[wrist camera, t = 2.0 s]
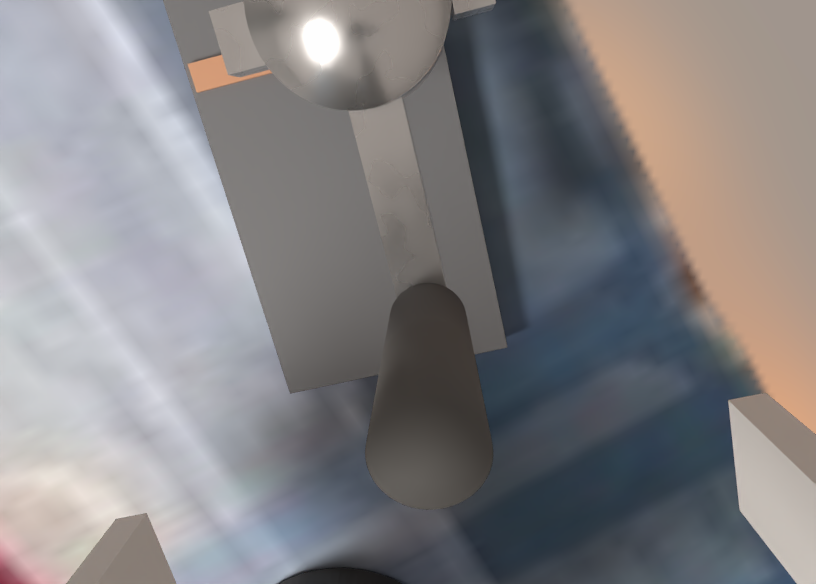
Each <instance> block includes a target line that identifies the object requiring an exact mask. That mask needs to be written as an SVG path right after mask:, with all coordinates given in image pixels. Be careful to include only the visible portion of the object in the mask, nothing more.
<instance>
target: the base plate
mask: <svg viewBox="0 0 816 584" xmlns="http://www.w3.org/2000/svg"><path fill="white" fill-rule="evenodd" d="M243 1H244V0H163V2H164V5H165V8H166V11H167V14H168V17H169V20H170V23H171V26H172V29H173V33H174V36H175V39H176V42H177V45H178V48H179V51H180V54H181V57H182V60H183V64H184V67H185V70H186V73H187V76H188V79H189V82H190V85H191V88H192V91H193V94H194V98H195V101H196V104H197V107H198V110H199V113H200V116H201V119H202V122H203V125H204V128H205V132H206V135H207V138H208V141H209V144H210V147H211V150H212V153H213V156H214V159H215V163H216V166H217V169H218V172H219V175H220V178H221V181H222V184H223V187H224V190H225V193H226V197H227V200H228V203H229V206H230V209H231V212H232V215H233V218H234V221H235V224H236V227H237V231H238V234H239V237H240V240H241V243H242V246H243V249H244V252H245V255H246V258H247V262H248V265H249V268H250V271H251V274H252V277H253V280H254V283H255V286H256V289H257V292H258V296H259V299H260V302H261V305H262V308H263V311H264V314H265V317H266V320H267V323H268V326H269V330H270V333H271V336H272V339H273V342H274V345H275V348H276V351H277V354H278V357H279V361H280V364H281V367H282V370H283V373H284V376H285V379H286V382H287V385H288V388H289V391H290V394H291V393H295V392H300V391H305V390H309V389H314V388H319V387H324V386H328V385H333V384H338V383H342V382H347V381H352V380H357V379H361V378H366V377H371V376H375V375H379V370H380V365H381V360H382V354H383V349H384V343H385V338H386V333H387V327H388V322H389V316H390V312H391V308H392V305H393V303H394V302H395V300H396V299H397V297H396V293H395V289H394V285H393V282H392V278H391V274H390V270H389V266H388V262H387V258H386V255H385V251H384V247H383V243H382V239H381V235H380V231H379V227H378V224H377V220H376V216H375V212H374V208H373V204H372V200H371V196H370V193H369V189H368V185H367V181H366V177H365V173H364V169H363V165H362V162H361V158H360V154H359V150H358V146H357V142H356V138H355V134H354V131H353V127H352V123H351V119H350V115H349V111H348V110H337V109H331V108H327V107H323V106H320V105H317V104H314V103H312V102H309V101H307V100H306V99H304V98H302V97H300V96H298V95H297V94H295V93H294V92H292V91H291V90H290V89H288V88H287V87H286V86H285V85H284V84H282V83H281V82H280V81H279V80H278V79H277V78H276V77H275V76H274V74H273V73H272V72H271V71H270V70H266V71H263V72H259V73H255V74H251V75H248V76H244V77H235V76H230V75H228V73H227V70H226V67H225V63H224V60H223V57H222V54H221V50H220V47H219V44H218V41H217V37H216V34H215V31H214V27H213V24H212V21H211V18H210V14H209V11H211V10H214V9H218V8H221V7H225V6H229V5H232V4H236V3H239V2H243ZM403 100H404V104H405V109H406V113H407V117H408V121H409V126H410V130H411V134H412V139H413V143H414V147H415V151H416V156H417V160H418V164H419V169H420V173H421V177H422V181H423V186H424V190H425V194H426V199H427V203H428V207H429V211H430V216H431V220H432V224H433V229H434V233H435V237H436V241H437V246H438V250H439V254H440V259H441V263H442V267H443V271H444V276H445V280H446V284H447V288H449V289H450V290H452V291H453V292H454V293H455V294H456V295H457V296H458V297H459V298H460V300H461V301H462V303H463V305H464V307H465V311H466V315H467V320H468V325H469V330H470V335H471V340H472V345H473V350H474V354H479V353H484V352H488V351H493V350H498V349H502V348H507V343H506V338H505V333H504V329H503V324H502V319H501V314H500V310H499V305H498V300H497V295H496V291H495V286H494V281H493V276H492V272H491V267H490V262H489V257H488V253H487V248H486V243H485V238H484V234H483V229H482V224H481V219H480V215H479V210H478V205H477V201H476V196H475V191H474V186H473V182H472V177H471V172H470V167H469V163H468V158H467V153H466V148H465V144H464V139H463V134H462V129H461V125H460V120H459V115H458V110H457V106H456V101H455V96H454V91H453V87H452V82H451V77H450V72H449V68H448V63H447V58H446V54H445V49H444V46H443V49H442V52H441V55H440V57H439V59H438V61H437V63H436V65H435V67H434V69H433V70H432V72H431V73H430V75H429V76H428V78H427V79H426V80H425V81H424V82H423V83H422V85H421V86H420V87H419V88H417V89H416V90H415V91H414V92H413V93H412V94H410V95H409V96H407V97H406V98H404V99H403Z"/></svg>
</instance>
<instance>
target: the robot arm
mask: <svg viewBox="0 0 816 584" xmlns="http://www.w3.org/2000/svg"><path fill="white" fill-rule="evenodd" d="M728 404H729V413H730V423H731V432H732V442H733V451H734V461H735V470H736V480H737V490H738V499H739V509H740V511H741V513H742V514H743V515H744V516H745V518H746V519H747V520H748V522H749V523H750V524H751V525H752V527H753V528H754V529H755V531H756V532H757V533H758V534H759V536H760V537H761V538H762V539H763V541H764V542H765V543H766V545H767V546H768V547H769V548H770V550H771V551H772V552H773V554H774V555H775V556H776V557H777V559H778V560H779V561H780V563H781V564H782V565H783V566H784V568H785V569H786V570H787V572H788V573H789V574H790V575H791V577H792V578H793V579H794V581H795V582H796V583H797V584H816V434H815V433H813V432H812V431H811V430H810V429H808V428H807V427H806V426H805V425H804V424H803V423H801V422H800V421H799V420H798V419H796V418H795V417H794V416H793V415H792V414H791V413H789V412H788V411H787V410H786V409H785V408H783V407H782V406H781V405H780V404H779V403H777V402H776V401H775V400H774V399H773V398H771V397H770V396H769V395H768V394H767V393H762V394H757V395H752V396H747V397H742V398H737V399H732V400H728ZM66 584H176V581H175V579H174V577H173V574H172V572H171V570H170V567H169V565H168V563H167V560H166V558H165V555H164V553H163V551H162V548H161V546H160V544H159V541H158V539H157V537H156V534H155V532H154V529H153V527H152V525H151V522H150V520H149V518H148V515H147V513H145V514H140V515H135V516H129V517H124V518H119V519H116V520H115V521H114V522H113V524H112V525H111V526H110V528H109V529H108V530H107V531H106V533H105V534H104V535H103V537H102V538H101V539H100V541H99V542H98V543H97V544H96V546H95V547H94V548H93V550H92V551H91V552H90V554H89V555H88V556H87V557H86V559H85V560H84V561H83V563H82V564H81V565H80V567H79V568H78V569H77V570H76V572H75V573H74V574H73V576H72V577H71V578H70V579H69V581H68V582H67V583H66ZM280 584H402V583H400V582H398V581H396V580H394V579H392V578H389V577H387V576H384V575H381V574H378V573H374V572H370V571H365V570H359V569H350V568H330V569H321V570H315V571H310V572H306V573H303V574H300V575H297V576H294V577H292V578H290V579H287V580H285V581H283V582H282V583H280Z"/></svg>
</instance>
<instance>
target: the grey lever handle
mask: <svg viewBox="0 0 816 584" xmlns="http://www.w3.org/2000/svg"><path fill="white" fill-rule="evenodd" d="M495 4H496V1H495V0H244V1H243V2H239V3H236V4H232V5H229V6H225V7H221V8H218V9H214V10H211V11H209V14H210V18H211V21H212V24H213V27H214V31H215V34H216V37H217V41H218V44H219V47H220V50H221V54H222V57H223V60H224V63H225V67H226V70H227V73H228V75H230V76H235V77H244V76H248V75H251V74H255V73H259V72H263V71H266V70H270V71H271V72H272V73H273V74H274V76H275V77H276V78H277V79H278V80H279V81H280V82H281V83H282V84H284V85H285V86H286V87H287V88H288V89H290V90H291V91H292V92H294V93H295V94H297V95H298V96H300V97H302V98H304V99H306V100H307V101H309V102H312V103H314V104H317V105H320V106H323V107H327V108H331V109H337V110H348V111H349V115H350V119H351V123H352V127H353V131H354V134H355V138H356V142H357V146H358V150H359V154H360V158H361V162H362V165H363V169H364V173H365V177H366V181H367V185H368V189H369V193H370V196H371V200H372V204H373V208H374V212H375V216H376V220H377V224H378V227H379V231H380V235H381V239H382V243H383V247H384V251H385V255H386V258H387V262H388V266H389V270H390V274H391V278H392V282H393V285H394V289H395V293H396V297H397V299H396V300H395V302H394V303H393V305H392V308H391V312H390V316H389V322H388V327H387V333H386V338H385V343H384V349H383V354H382V360H381V365H380V370H379V376H378V381H377V387H376V392H375V397H374V403H373V408H372V414H371V419H370V424H369V430H368V435H367V441H366V448H365V457H366V463H367V468H368V470H369V473H370V475H371V477H372V479H373V480H374V482H375V483H376V485H377V486H378V487H379V488H380V489H381V490H382V491H383V492H384V493H385V494H386V495H387V496H389V497H390V498H392V499H393V500H395V501H397V502H399V503H401V504H403V505H406V506H409V507H413V508H418V509H426V510H429V509H442V508H447V507H451V506H453V505H456V504H459V503H461V502H462V501H464V500H466V499H468V498H469V497H470V496H472V495H473V494H474V493H475V492H476V491H478V489H479V488H480V487H481V486H482V485H483V483H484V482H485V480H486V479H487V477H488V475H489V472H490V470H491V466H492V462H493V445H492V439H491V435H490V430H489V425H488V420H487V415H486V410H485V405H484V400H483V395H482V390H481V385H480V380H479V375H478V370H477V365H476V360H475V355H474V350H473V345H472V340H471V335H470V330H469V325H468V320H467V315H466V311H465V307H464V305H463V303H462V301H461V300H460V298H459V297H458V296H457V295H456V294H455V293H454V292H453V291H452V290H450V289H449V288H447V284H446V280H445V276H444V271H443V267H442V263H441V259H440V254H439V250H438V246H437V241H436V237H435V233H434V229H433V224H432V220H431V216H430V211H429V207H428V203H427V199H426V194H425V190H424V186H423V181H422V177H421V173H420V169H419V164H418V160H417V156H416V151H415V147H414V143H413V139H412V134H411V130H410V126H409V121H408V117H407V113H406V109H405V104H404V100H403V99H404V98H406V97H407V96H409V95H410V94H412V93H413V92H414V91H415V90H416V89H417V88H419V87H420V86H421V85H422V83H423V82H424V81H425V80H426V79H427V78H428V76H429V75H430V73H431V72H432V70H433V69H434V67H435V65H436V63H437V61H438V59H439V57H440V55H441V52H442V49H443V46H444V43H445V38H446V34H447V30H448V25H449V21H450V14H451V13H452V18H453V21H454V20H458V19H462V18H465V17H469V16H473V15H477V14H480V13H484V12H488V11H492V9H493V8H494V6H495Z"/></svg>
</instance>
